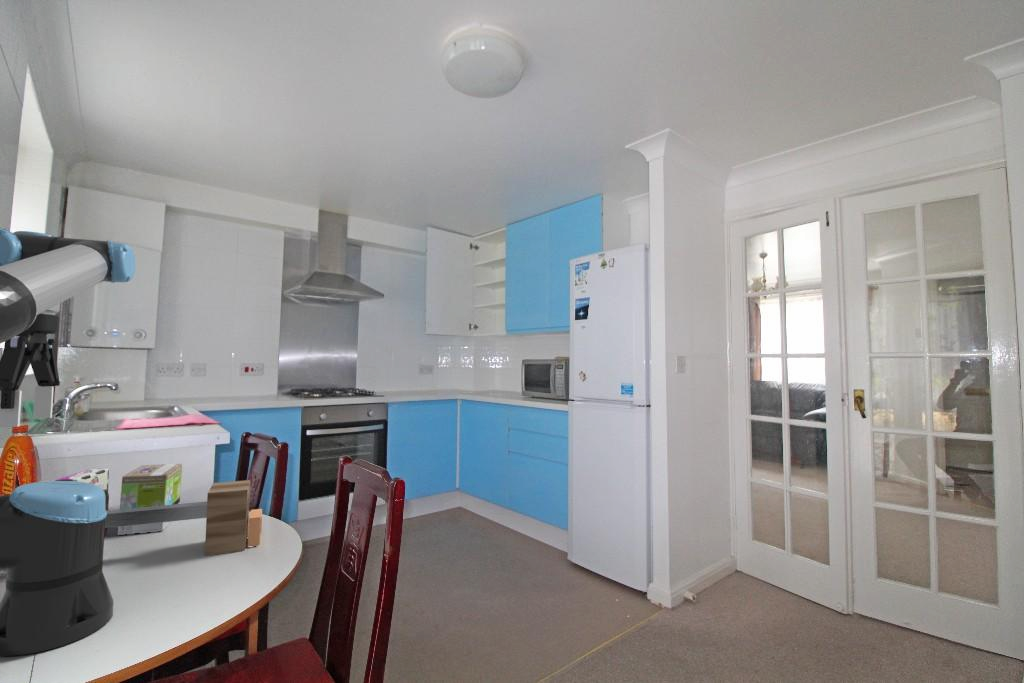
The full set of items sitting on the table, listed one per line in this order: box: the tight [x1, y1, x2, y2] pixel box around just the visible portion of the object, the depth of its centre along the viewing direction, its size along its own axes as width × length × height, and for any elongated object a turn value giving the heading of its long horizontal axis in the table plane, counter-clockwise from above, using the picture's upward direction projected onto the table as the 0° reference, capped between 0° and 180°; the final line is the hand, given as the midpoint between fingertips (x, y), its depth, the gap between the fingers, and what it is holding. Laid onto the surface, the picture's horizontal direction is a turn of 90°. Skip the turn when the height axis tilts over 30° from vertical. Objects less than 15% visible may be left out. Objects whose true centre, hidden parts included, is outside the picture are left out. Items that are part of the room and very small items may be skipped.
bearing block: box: [204, 479, 251, 557], centre depth 116 cm, size 10×8×14 cm
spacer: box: [247, 508, 263, 547], centre depth 119 cm, size 7×2×7 cm, turn 24°
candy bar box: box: [54, 468, 110, 535], centre depth 116 cm, size 11×5×16 cm, turn 8°
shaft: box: [103, 488, 207, 529], centre depth 110 cm, size 4×24×8 cm, turn 115°
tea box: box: [117, 463, 183, 536], centre depth 129 cm, size 15×10×15 cm
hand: (26, 422), depth 94 cm, fingers open, 13 cm apart
